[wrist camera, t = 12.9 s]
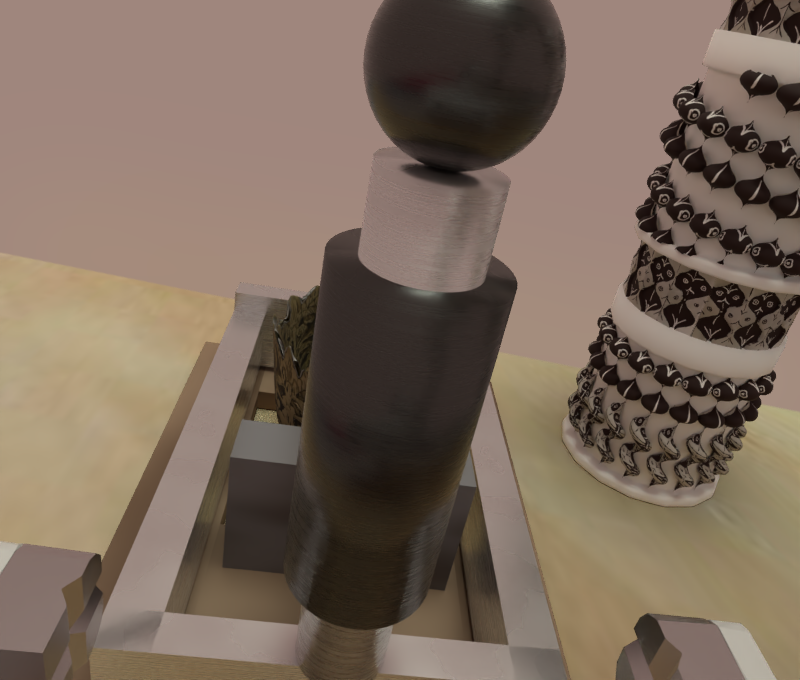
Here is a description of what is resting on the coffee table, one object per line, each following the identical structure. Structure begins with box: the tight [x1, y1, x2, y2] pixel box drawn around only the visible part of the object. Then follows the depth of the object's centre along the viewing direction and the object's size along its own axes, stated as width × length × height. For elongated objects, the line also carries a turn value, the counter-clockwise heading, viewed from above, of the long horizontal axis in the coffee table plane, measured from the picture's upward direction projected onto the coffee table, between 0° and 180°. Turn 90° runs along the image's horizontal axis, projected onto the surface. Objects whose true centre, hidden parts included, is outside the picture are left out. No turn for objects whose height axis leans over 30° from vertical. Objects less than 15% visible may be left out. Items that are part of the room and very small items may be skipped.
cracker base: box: [73, 342, 571, 680], centre depth 26 cm, size 16×22×6 cm
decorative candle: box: [562, 0, 800, 507], centre depth 30 cm, size 9×9×25 cm
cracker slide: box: [89, 0, 567, 680], centre depth 22 cm, size 12×21×19 cm, turn 2°
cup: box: [272, 286, 320, 427], centre depth 28 cm, size 8×7×8 cm
